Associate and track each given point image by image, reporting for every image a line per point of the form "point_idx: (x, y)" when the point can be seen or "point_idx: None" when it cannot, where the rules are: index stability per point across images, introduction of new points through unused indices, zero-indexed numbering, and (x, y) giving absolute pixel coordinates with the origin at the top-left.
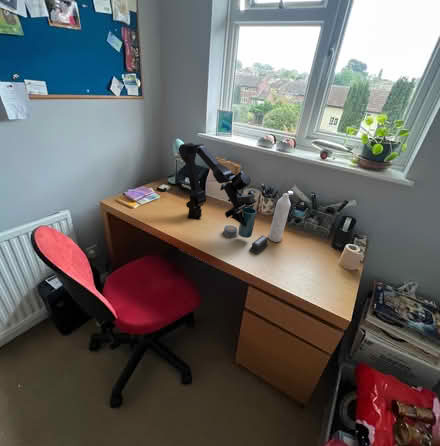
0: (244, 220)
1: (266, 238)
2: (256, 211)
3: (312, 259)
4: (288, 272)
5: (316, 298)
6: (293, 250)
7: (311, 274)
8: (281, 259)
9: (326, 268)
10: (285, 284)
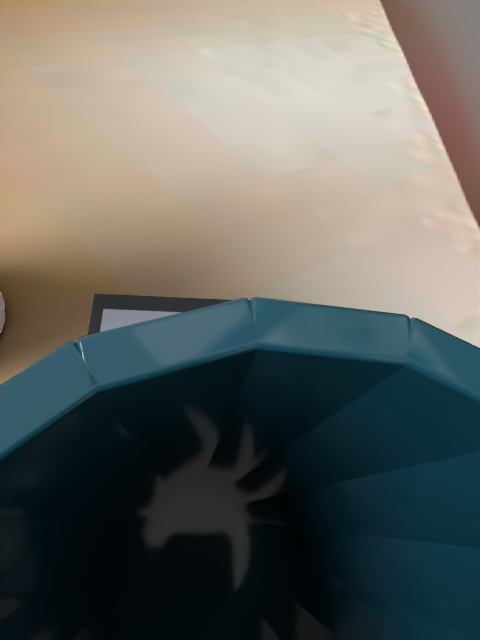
0: (474, 636)
1: (119, 303)
2: (54, 362)
3: (67, 60)
4: (301, 125)
5: (358, 20)
6: (38, 156)
7: (219, 48)
8: (215, 184)
9: (107, 7)
10: (398, 115)
